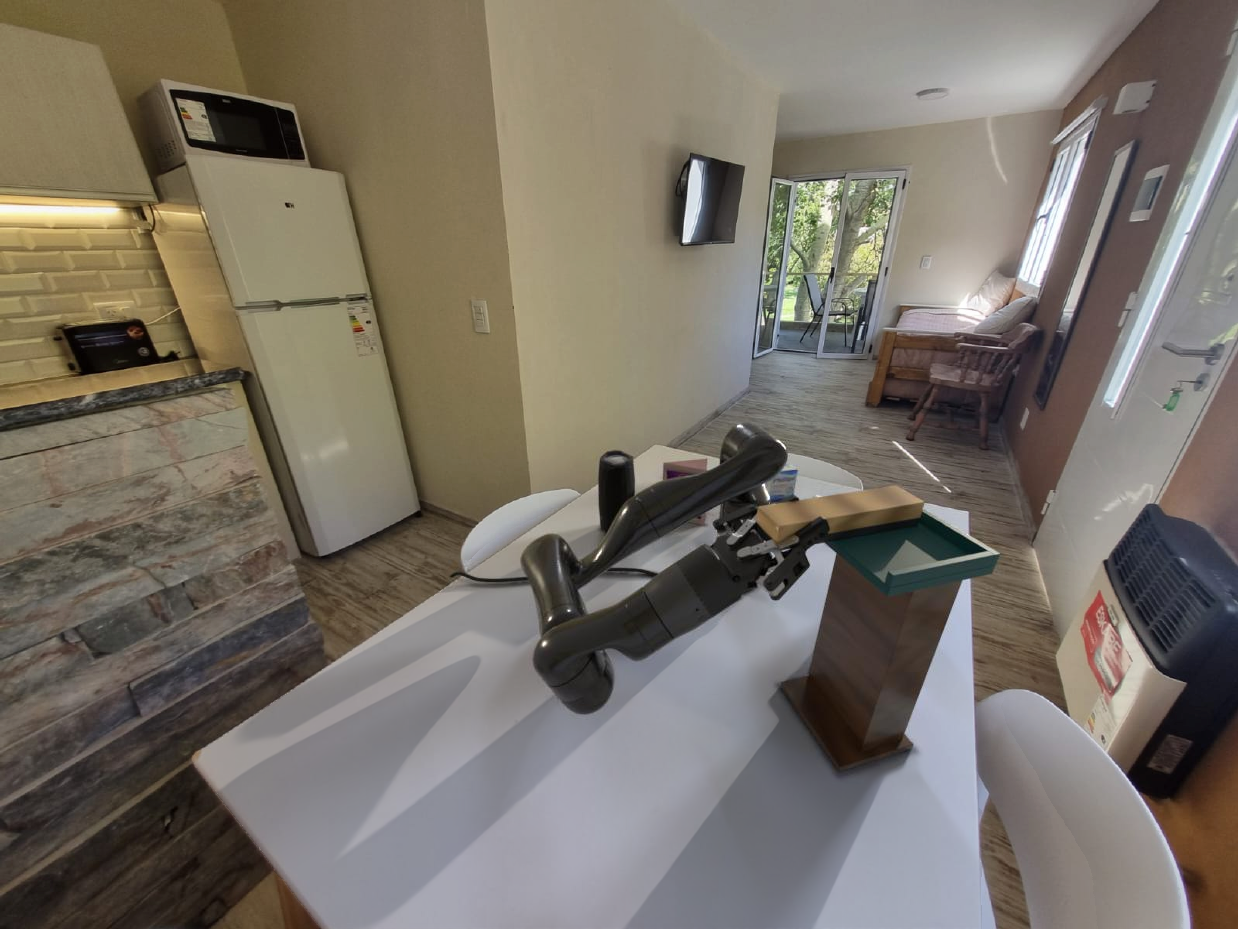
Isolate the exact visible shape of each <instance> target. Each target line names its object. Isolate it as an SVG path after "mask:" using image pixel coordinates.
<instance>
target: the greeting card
mask: <svg viewBox="0 0 1238 929" xmlns="http://www.w3.org/2000/svg"><path fill="white" fill-rule="evenodd" d="M662 463H663V465H662V481H663V480H667V479H671V478H676V477H682V476H689V475H694V474H699V473H703V472H706V471H708V470H709V469H707V468H708V458H700V459H699V458H698V459H689V460H678V461H677V460H675V461H666V462H662ZM706 516H707V512H706V513H704V514H702V515H700V516H698V517H697V518H695V519H693V520H691V521H689V522H688V523H694V524H698V525H703V526H705V525H706V519H707V518H706Z"/></svg>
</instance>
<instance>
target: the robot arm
mask: <svg viewBox="0 0 1238 929" xmlns="http://www.w3.org/2000/svg"><path fill="white" fill-rule="evenodd" d="M788 459H789V453H788V448H787V447H786V446H785V444H784V443H783V442H782V441H781V440H780V439H778V438H777V437H775V436H774V435H773V434H771V433H770V432H769V431H767V430H765V429H764V428H762V427H761V426H759V425H757V424H755V423H752V422H741V423H738V424H736V425H735V426H733V427H732V428H730V430H728V431H727V433H726V434H725V436H724V438H723V440H722V443H721V448H720V453H719V465H717V466H715V467H713V468H711V469H707V470H708V471H706V472H703V473H699V474H694V475H689V476H682V477H676V478H671V479H667V480H663V479H662V480H660V481H657V482H655V483H653V484H651V485H649V486H647V487H646V488H644V489H643V490H640V491H639V492H636V493H635V495H634V496H632V497H630V498H629V499H628V500H627V501H626V502H625V503H624V504H623V505H622V507H621V508H620V510H619V512H618V513H617V515H616V517H615V519H614V521H613V523H612V525H611V527H610V528H609V530H608V532H607V534H606V533H605V536H604V537H603V539H602V540H601V541H600V542H599V544H598V545H597V546H596V547H595V548H594V549H592V551H590V552H589V553H588V554H587V555H585V556H583V557H582V558H580V559H579V558H578V557H577V556H576V554H575V552H574V551H573V549H572V548H571V546H570V545H569V544H568V542H567V540H566V539H565V538H564V537H563V536H561V535H560V534H558V533H553V532H552V533H546V534H543V535H541V536H539V537H537V538H536V539H534V540H533V541H531V542H530V543H529V544H528V545H527V546H526V547H525V548H524V549H523V551H522V553H521V554H520V559H519V562H520V566H521V569H522V572H523V574H524V575H525V576H519V577H518V576H517V577H502V578H501V577H500V578H486V577H477V576H474V575H471V574H469V573H466V572H464V571H454V572H453V573H451V574H450V575H449V576H448V577H449V578H450V579H451V578H454V577H457V576H461V577H464V578H466V579H468V580H471V581H474V582H478V583H510V582H522V581H524V582H525V581H528V582H529V585H530V588H531V591H532V595H533V598H534V603H535V607H536V614H537V622H538V629H539V630H538V631H539V638H540V639H539V640H538V641H537V643H536V645H535V647H534V649H533V653H532V661H531V662H532V667H533V668H534V670H535V673H536V674H537V675H538V677H540V679H541V680H542V682H544V684H546V685H547V687H548V688H549V689H550V690H551V692H552V693H553V694H554V695H555V696H556V697H557V699H558V700H559V701H560V702H561V703H562V704H563V706H564V707H565V708H566V709H568V710H569V711H570V712H572V713H574V714H576V715H581V716H587V715H592V714H594V713H596V712H598V711H600V710H602V708H604V707H605V706H606V705H607V703H608V702H609V701H610V699H611V697H612V696H613V693H614V688H615V685H616V684H615V682H616V674H615V673H616V672H615V668H614V666H613V663H612V661H611V658H610V656H609V654H608V653H607V651H606V650H614V651H617V652H619V653H620V654H622V655H623V656H625V658H627V659H629V660H630V661H633V662H636V663H637V662H642V661H644V660H646V659H649V658H650V657H652V655H654V654H656V653H657V652H659V651H660V650H662V649H663V648H665V647H666V646H668V645H669V644H671V643H672V642H674V641H675V640H676V639H679V638H681V637H682V636H684V635H687V634H689V633H690V632H691V633H692V632H694V631H695V630H696V629H698V628H699V627H701V626H702V625H704V624H706V623H707V622H708V621H710V620H711V619H713V618H715V617H716V616H717V615H719V614H720V613H722V612H723V611H725V610H727V609H728V608H729V607H731V606H732V605H734V604H736V603H738V602H739V601H740V600H741V599H742V597H743V594H744V593H745V592H748V591H752V590H753V589H757V588H760V589H761V590H763V591H764V592H766V593H767V594H768V596H769V597H770V600H772V601H774V602H776V601H779V600H780V599H781V598H783V597H784V595H785V594H786V593H787V592H788V591H789V590H790V589H791V588H792V587H793V586H794V585H795V584H796V582H797V581H798V580H800V578H801V577H802V576H803V575H804V574H805V573H806V572H807V571H808V570H809V569H810V567H811V563H810V561H809V559H808V556H807V551H808V550H809V549H811V548H812V547H813V546H815V545H817V544H816V543H818V542H819V541H821V540H822V539H824V538H825V537H826V536H827V535H828V532H829V531H830V527H829V525H828V522H827V520H826V519H825V518H823V517H822V516H819V517H818V518H816V519H815V520H813V521H812V522H810V523H809V524H807V525H806V526H804V527H803V528H801V529H800V530H798V531H797V532H795V535H792V536H789V537H787V538H785V539H784V540H782V541H780V542H778V543H777V542H776V540H774V539H772V540H769V541H765V540H764V539H763V538H762V537H761V536H760V535H759V534H758V533H757V522H756V518H757V511H758V506H764V505H771V501H770V494H769V492H768V490H767V488H766V486H765V483H767V482H769V481H771V480H772V479H774V478H775V477H776V476H777V475H778V474H779V473H780V472H781V471H782V470H783V468H784V467H785V465H786V464H787V462H788ZM797 500H800V498H799V497H798V496H797V495H795V494H794V495H791V496H790V497H789V496H788V497H785V498H784V499H780V500H778V501H777V502H776V503H775V504H777V503H784V502H790V501H797ZM718 506H719V516H718V518H716V519H714V520H713V521H712V522H711V523H712V526H713V528H714V530H715V532H716V538H715V540H714V542H713V543H712V544H711V545H709V544H708V543H703V544H700V545H699V546H698V547H696V548H695V549H693V550H692V551H690V552H688V553H687V554H686V555H684V556H683V557H681V558H680V559H678V560H676V561H675V562H674V563H672V564H671V565H669V566H667V567H666V568H664V569H663V570H661V571H660V572H654V571H651V570H647V569H644V568H637V567H636V568H635V567H614V566H616V565H618V564H619V563H621V562H622V561H624V560H626V559H627V558H629V557H630V556H632V555H634V554H636V553H637V552H639V551H641V550H643V549H644V548H646V547H648V546H650V545H652V544H653V543H656V542H658V541H660V540H661V539H663V538H665V537H667V536H669V535H671V533H673V532H675V531H677V530H678V529H681V527H683V526H684V525H686V524H688V523H690V522H689V521H691V520H693V519H695V518H697V517H698V516H700V515H702V514H704V513H706V514H707V513H708V512H710V511H711V510H713V509H715V508H717V507H718ZM788 548H791V549H788ZM786 549H787V550H786ZM772 554H773V555H774V557H773V555H772ZM605 572H629V573H630V572H632V573H640V574H646V575H649V576H653V578H652V579H650V580H649V581H648V582H647V583H645V584H644V585H643V586H642V587H640V588H638V589H637V590H635V591H634V592H632V593H631V594H629V595H628V596H626V597H624V599H622V600H620V601H618V603H615V604H612V605H610V606H608V607H605V608H602V609H599V610H596V611H594V612H590V613H589V612H588V609H587V606H586V604H585V601H584V599H583V597H582V595H581V593H580V591H579V590H581V589H582V588H584V587H585V586H587V585H588V584H590V583H591V582H592V581H595V579H597V578H599V577H600V576H601V575H602V574H604V573H605Z"/></svg>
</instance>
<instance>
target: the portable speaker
mask: <svg viewBox="0 0 1238 929" xmlns="http://www.w3.org/2000/svg"><path fill="white" fill-rule="evenodd" d="M598 461H599V462H598V475H597V483H598V484H597V485H598V486H597V487H598V488H597V489H598V490H597V491H598V495H597V496H598V514H599V515H598V516H599V525H600V529H601V530H602V531H603V532H604V533H605V535H606V534H607V532H608V530H609V528H610V527H611V525H612V523H613V521H614V519H615V517H616V515H617V513H618V512H619V510H620V508H621V507H622V505H623V504H624V503H625V502H626V501H627V500H628V499H629V498H630V497H632V496H634V495H635V496H636V475H635V463H634V462H635V460H634V456H633V455H631V454H628V453H626V452H625V451H623V450H620V449H613V450H609V451H605V453H603V454H602V455H601V456H600V457H599V460H598Z"/></svg>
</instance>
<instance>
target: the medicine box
mask: <svg viewBox="0 0 1238 929" xmlns="http://www.w3.org/2000/svg"><path fill="white" fill-rule="evenodd" d="M798 473H799V469H797V468H796V467H795V466H794V465H792V464H790V463H786V465H785V467H784V468H783V470H782V471H781V472H780V473H779V474H778V475H777V476H776V477H775V478H774V479H772V480H771V481H769V482H767V483H765V486H766V488H767V490H768V492H769V494H770V502H771V501H772V502H773V501H781V500H782V499H784V498H785V497H788V496H789V497H790V496H791V495H795V490H796V484H797V480H798Z"/></svg>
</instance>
